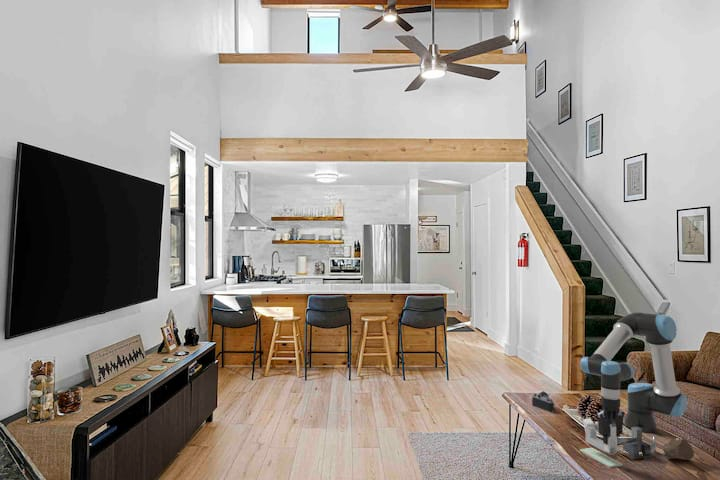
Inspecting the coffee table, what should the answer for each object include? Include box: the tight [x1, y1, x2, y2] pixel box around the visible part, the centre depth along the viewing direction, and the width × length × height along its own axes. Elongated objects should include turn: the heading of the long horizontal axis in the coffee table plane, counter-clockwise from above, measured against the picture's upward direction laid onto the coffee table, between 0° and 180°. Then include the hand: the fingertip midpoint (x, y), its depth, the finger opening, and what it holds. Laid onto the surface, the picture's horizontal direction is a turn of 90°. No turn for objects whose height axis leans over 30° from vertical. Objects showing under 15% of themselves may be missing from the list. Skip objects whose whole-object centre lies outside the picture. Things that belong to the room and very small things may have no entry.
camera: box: [531, 390, 555, 413], centre depth 284 cm, size 16×8×10 cm, turn 26°
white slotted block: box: [585, 423, 617, 456], centre depth 216 cm, size 3×15×12 cm, turn 16°
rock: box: [662, 437, 695, 461], centre depth 215 cm, size 12×10×10 cm
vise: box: [617, 427, 657, 460], centre depth 220 cm, size 24×8×12 cm, turn 106°
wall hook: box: [582, 418, 599, 438], centre depth 237 cm, size 8×10×10 cm
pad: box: [579, 447, 624, 469], centre depth 215 cm, size 7×18×1 cm, turn 16°
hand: (610, 450), depth 210 cm, fingers closed on white slotted block, 3 cm apart
